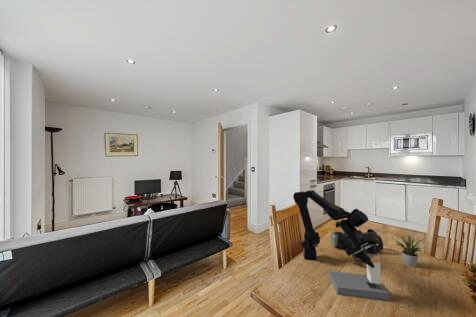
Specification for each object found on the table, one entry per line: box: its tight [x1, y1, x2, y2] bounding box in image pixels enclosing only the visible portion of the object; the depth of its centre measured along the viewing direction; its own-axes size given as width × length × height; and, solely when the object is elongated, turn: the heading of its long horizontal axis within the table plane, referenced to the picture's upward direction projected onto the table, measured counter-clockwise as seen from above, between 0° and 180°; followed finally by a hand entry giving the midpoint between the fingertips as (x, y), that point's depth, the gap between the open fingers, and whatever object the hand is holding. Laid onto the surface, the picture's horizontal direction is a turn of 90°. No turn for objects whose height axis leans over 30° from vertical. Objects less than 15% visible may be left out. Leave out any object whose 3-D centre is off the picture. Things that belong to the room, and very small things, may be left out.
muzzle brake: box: [330, 230, 384, 252], centre depth 122 cm, size 10×28×10 cm, turn 78°
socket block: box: [328, 270, 390, 301], centre depth 85 cm, size 20×12×3 cm, turn 79°
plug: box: [366, 253, 382, 284], centre depth 82 cm, size 4×4×11 cm
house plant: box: [392, 234, 426, 268], centre depth 104 cm, size 14×14×16 cm
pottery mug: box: [351, 253, 366, 265], centre depth 106 cm, size 12×10×8 cm
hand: (376, 265), depth 81 cm, fingers closed on plug, 5 cm apart
